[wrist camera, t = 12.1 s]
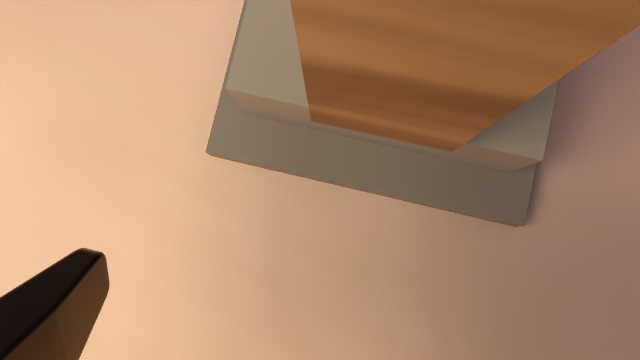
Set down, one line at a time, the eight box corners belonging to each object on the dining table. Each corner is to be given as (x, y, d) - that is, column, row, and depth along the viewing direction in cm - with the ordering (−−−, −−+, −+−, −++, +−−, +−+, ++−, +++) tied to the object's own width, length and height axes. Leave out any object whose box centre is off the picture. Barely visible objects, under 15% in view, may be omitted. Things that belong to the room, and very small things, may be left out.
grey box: (550, 52, 22) (606, 5, 17) (515, 226, 21) (564, 224, 17) (254, -13, 22) (235, -75, 18) (211, 155, 22) (180, 135, 17)
